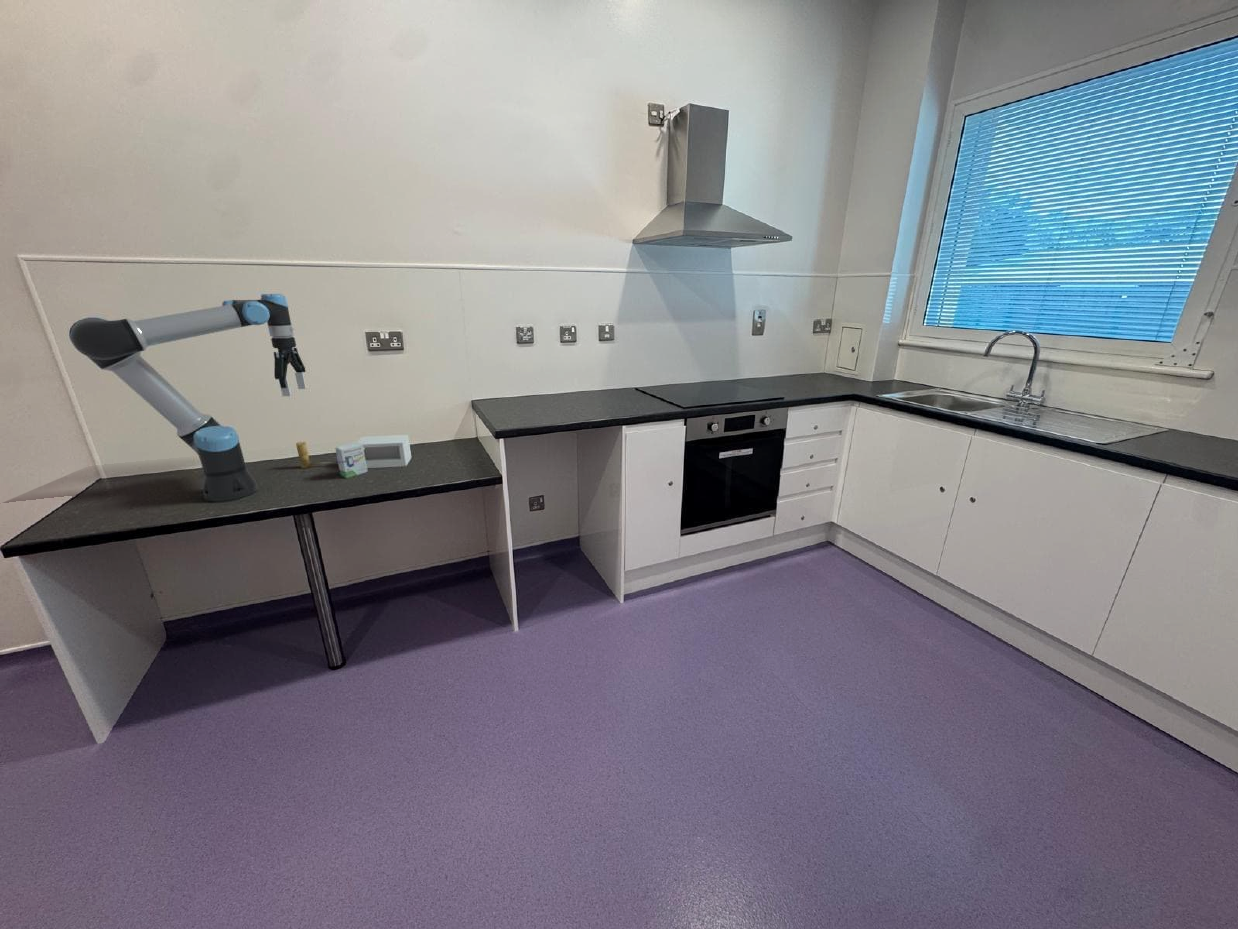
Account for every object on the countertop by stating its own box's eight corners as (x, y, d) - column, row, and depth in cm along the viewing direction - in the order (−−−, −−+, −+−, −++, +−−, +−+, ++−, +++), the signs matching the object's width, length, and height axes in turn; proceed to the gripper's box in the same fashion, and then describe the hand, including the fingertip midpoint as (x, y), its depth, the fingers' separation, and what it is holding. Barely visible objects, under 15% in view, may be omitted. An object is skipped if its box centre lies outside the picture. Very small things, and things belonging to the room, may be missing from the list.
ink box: (361, 469, 198) (356, 441, 194) (368, 472, 196) (363, 444, 191) (339, 475, 192) (334, 446, 188) (346, 478, 189) (340, 449, 185)
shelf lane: (357, 468, 199) (353, 444, 195) (365, 459, 209) (361, 436, 206) (405, 466, 202) (402, 442, 199) (411, 457, 212) (408, 434, 209)
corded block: (298, 469, 197) (293, 445, 194) (304, 464, 203) (299, 441, 199) (357, 466, 201) (353, 443, 198) (362, 461, 207) (358, 438, 203)
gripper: (277, 340, 175) (291, 399, 182) (307, 333, 198) (318, 385, 205) (254, 340, 174) (268, 399, 181) (286, 333, 197) (298, 386, 204)
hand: (295, 392), depth 193 cm, fingers open, 13 cm apart
